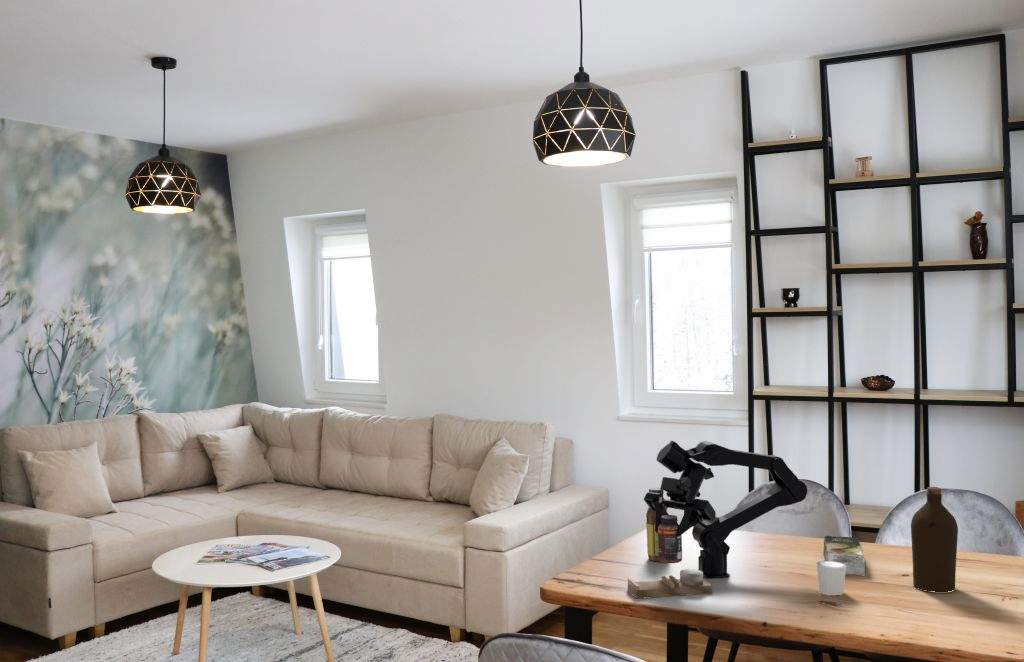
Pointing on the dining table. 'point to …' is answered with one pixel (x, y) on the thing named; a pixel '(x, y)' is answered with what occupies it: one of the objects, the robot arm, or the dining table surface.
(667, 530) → the supplement bottle
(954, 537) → the olive oil
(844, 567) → the white cup
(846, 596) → the dining table surface
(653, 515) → the sauce bottle
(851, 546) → the juice carton
